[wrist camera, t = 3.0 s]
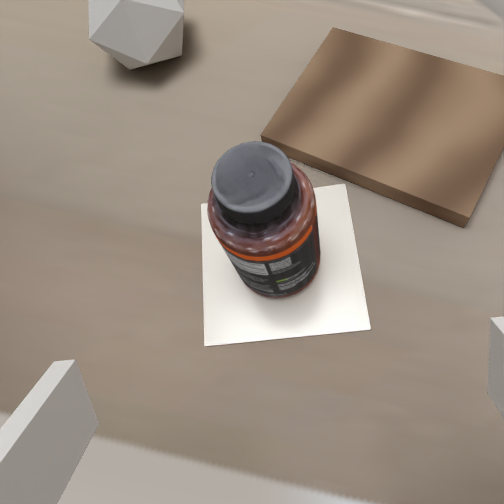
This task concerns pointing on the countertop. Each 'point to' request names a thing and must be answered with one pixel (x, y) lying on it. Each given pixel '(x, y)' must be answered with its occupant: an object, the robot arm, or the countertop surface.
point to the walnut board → (395, 123)
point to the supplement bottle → (265, 219)
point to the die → (137, 29)
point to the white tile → (296, 306)
